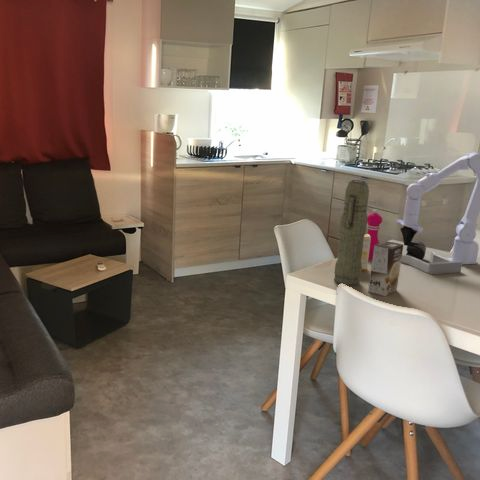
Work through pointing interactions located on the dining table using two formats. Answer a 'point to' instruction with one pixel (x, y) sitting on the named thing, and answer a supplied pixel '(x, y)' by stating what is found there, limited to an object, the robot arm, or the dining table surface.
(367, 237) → the cream bottle
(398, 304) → the dining table surface
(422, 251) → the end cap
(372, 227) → the pepper mill
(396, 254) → the coffee box
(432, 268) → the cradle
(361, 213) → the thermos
